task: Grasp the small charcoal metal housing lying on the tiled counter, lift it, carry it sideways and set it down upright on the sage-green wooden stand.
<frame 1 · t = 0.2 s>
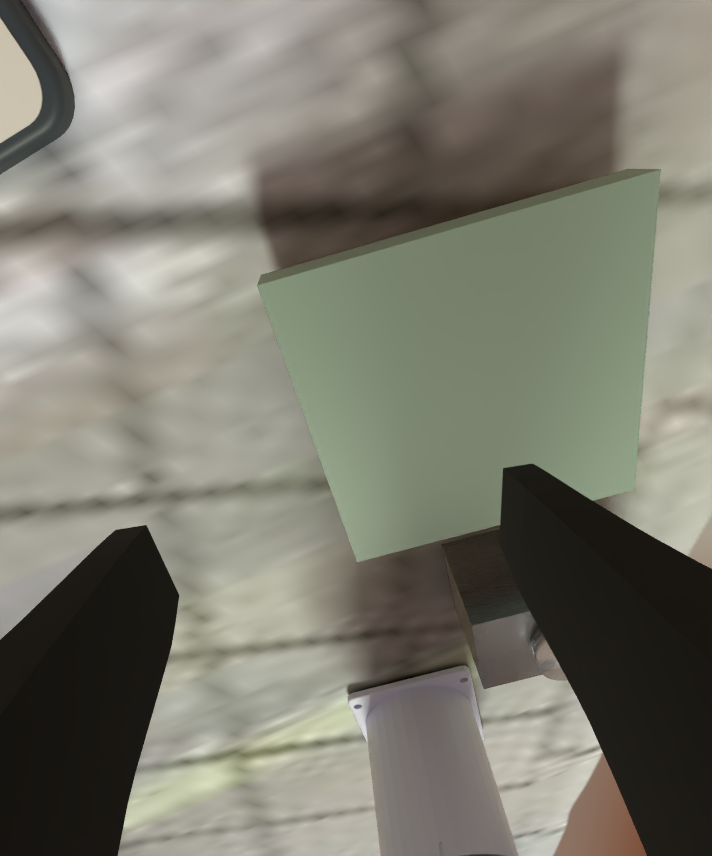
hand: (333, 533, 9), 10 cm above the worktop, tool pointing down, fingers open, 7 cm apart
stand: (454, 372, 19), on the worktop
housing: (518, 556, 25), on the worktop
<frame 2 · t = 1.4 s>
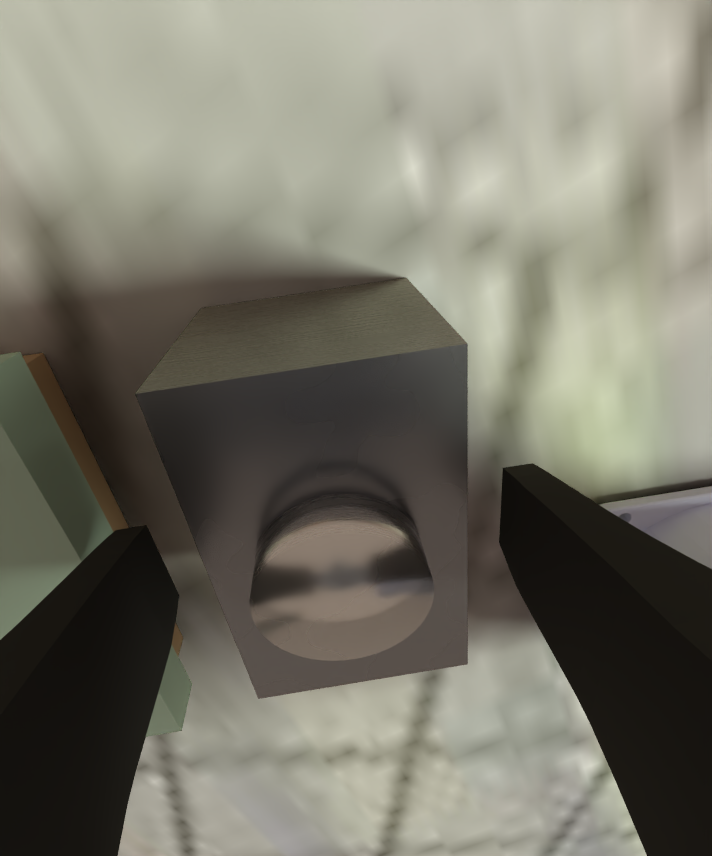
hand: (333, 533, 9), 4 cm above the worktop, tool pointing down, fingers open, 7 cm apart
housing: (329, 431, 13), on the worktop
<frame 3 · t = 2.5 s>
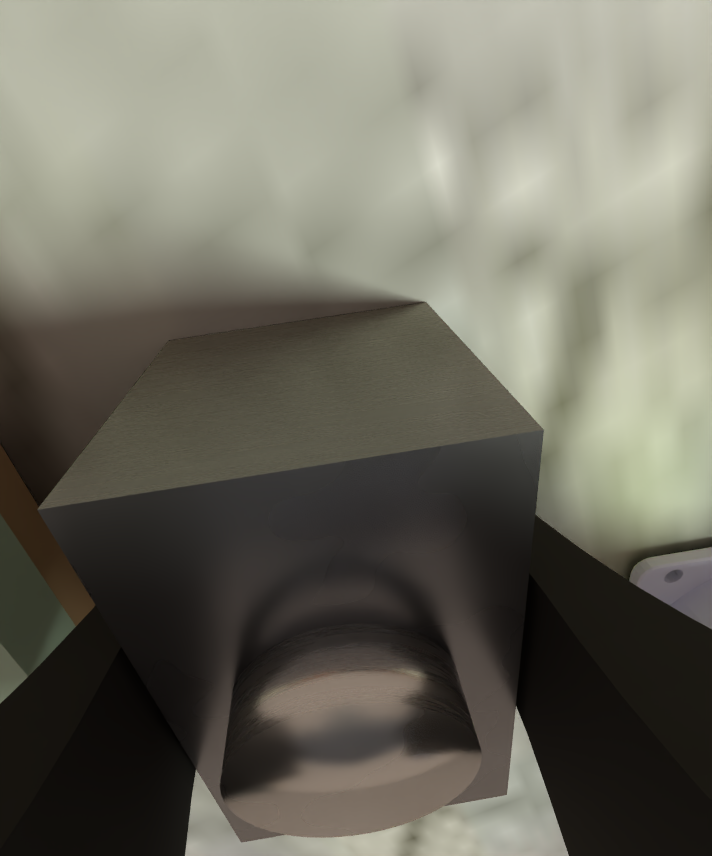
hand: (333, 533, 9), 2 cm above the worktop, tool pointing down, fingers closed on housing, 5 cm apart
housing: (329, 485, 11), on the worktop, touching gripper
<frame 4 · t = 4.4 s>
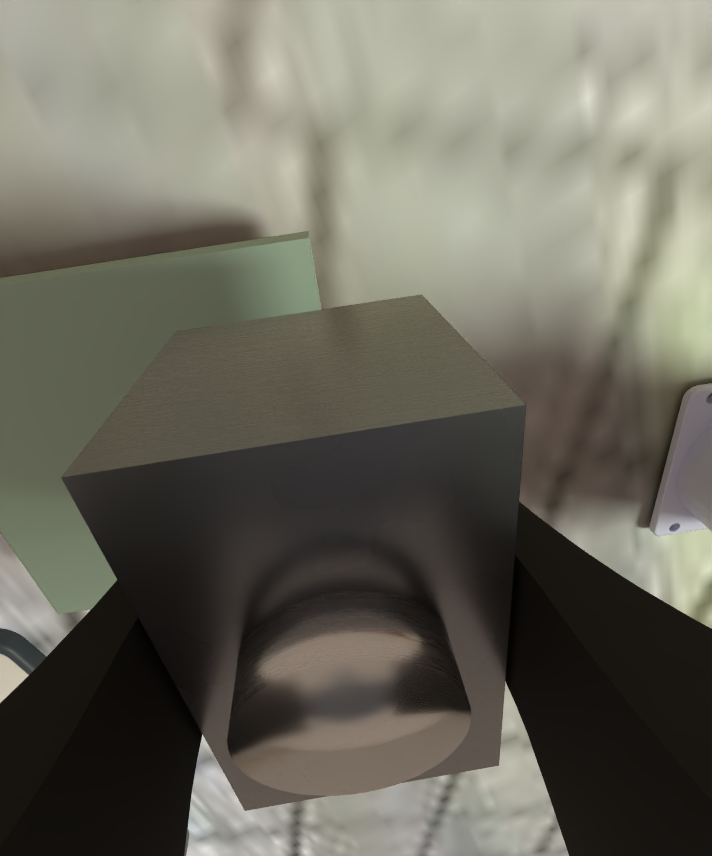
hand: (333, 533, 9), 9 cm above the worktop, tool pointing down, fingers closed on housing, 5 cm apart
stand: (180, 419, 17), on the worktop
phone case: (41, 716, 27), on the worktop
housing: (329, 473, 11), point 7 cm above the worktop, touching gripper
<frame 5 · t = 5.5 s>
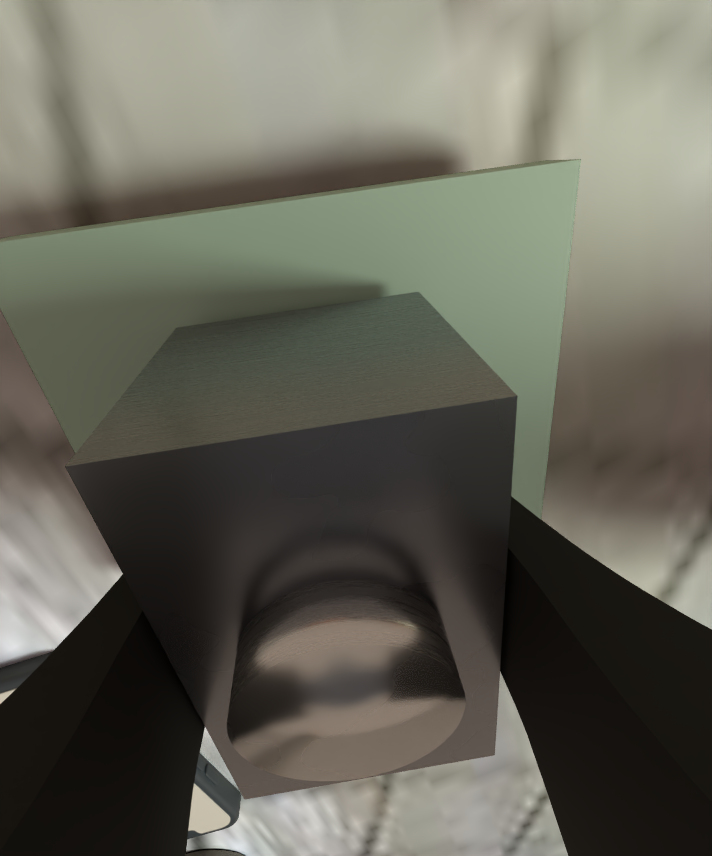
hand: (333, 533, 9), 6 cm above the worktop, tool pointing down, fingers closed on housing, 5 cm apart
stand: (322, 405, 14), on the worktop
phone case: (106, 743, 24), on the worktop
housing: (327, 468, 11), point 4 cm above the worktop, touching gripper
when the fingers open (6 cm above the worktop, at t = 6.2 s): housing stays where it is, resting on stand.
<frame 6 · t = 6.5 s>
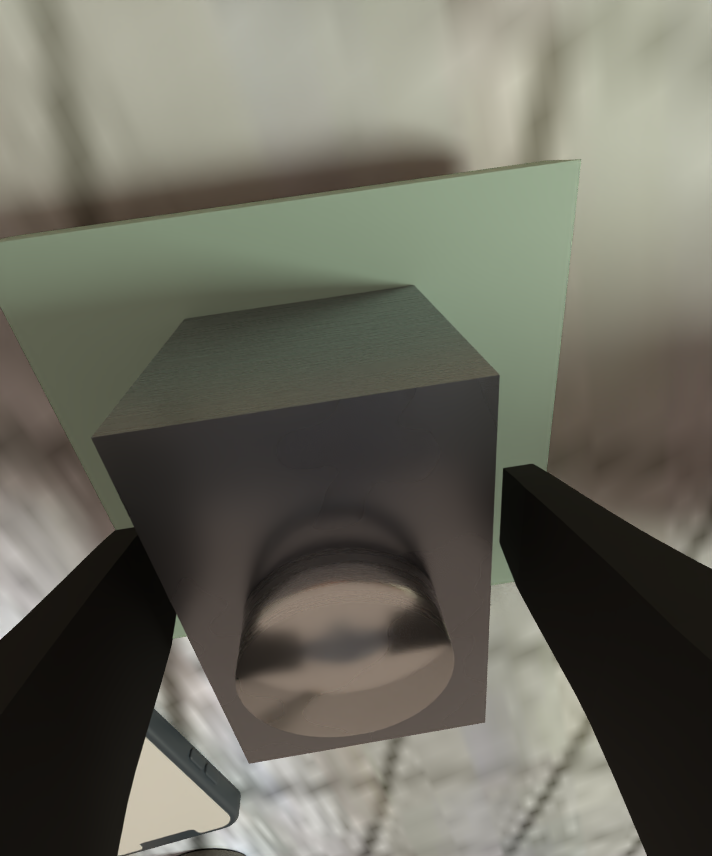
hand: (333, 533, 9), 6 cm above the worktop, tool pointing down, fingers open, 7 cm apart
stand: (323, 404, 14), on the worktop
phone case: (106, 743, 24), on the worktop
housing: (327, 454, 12), point 3 cm above the worktop, touching stand
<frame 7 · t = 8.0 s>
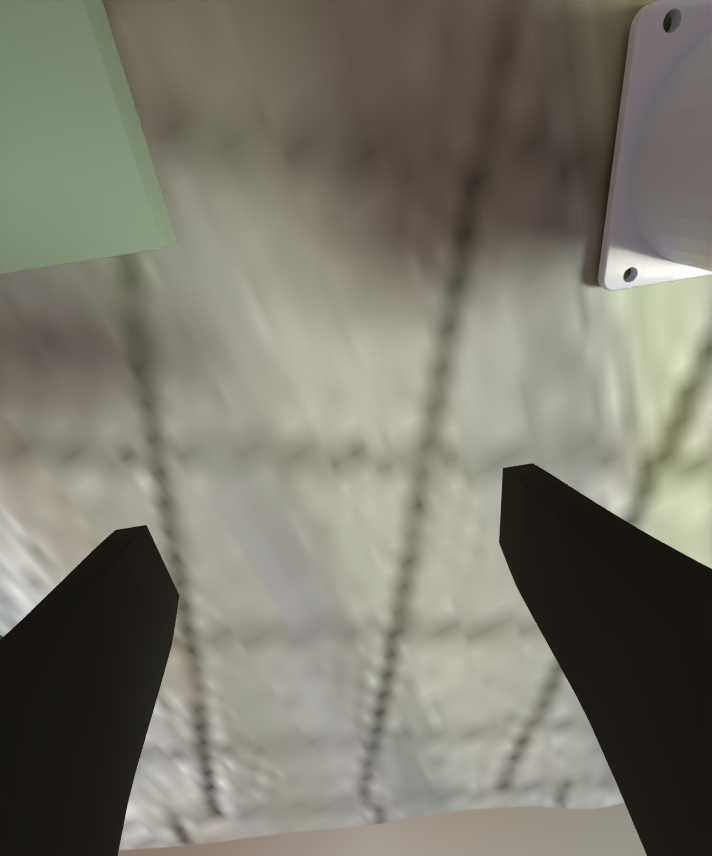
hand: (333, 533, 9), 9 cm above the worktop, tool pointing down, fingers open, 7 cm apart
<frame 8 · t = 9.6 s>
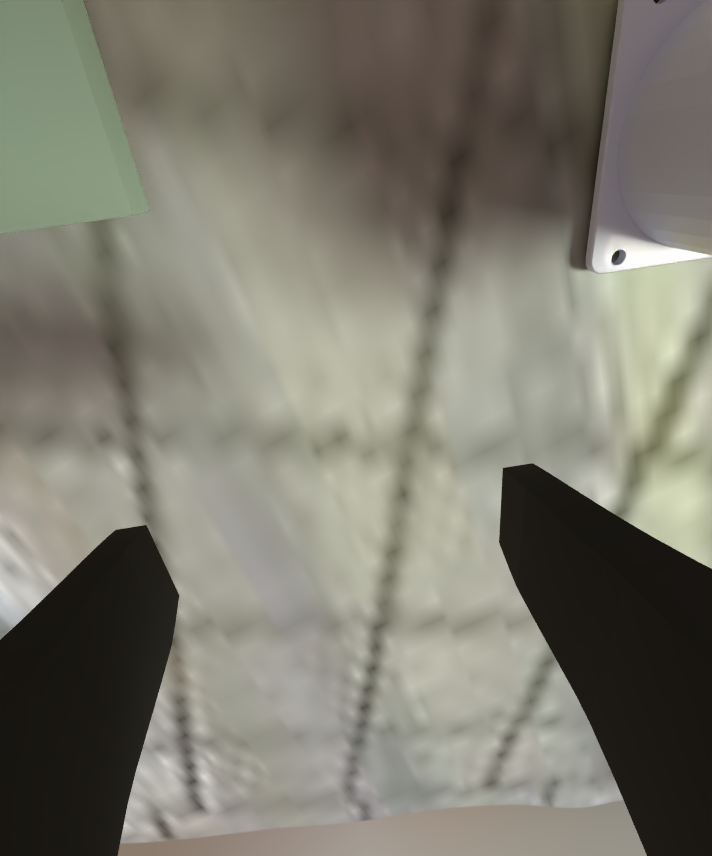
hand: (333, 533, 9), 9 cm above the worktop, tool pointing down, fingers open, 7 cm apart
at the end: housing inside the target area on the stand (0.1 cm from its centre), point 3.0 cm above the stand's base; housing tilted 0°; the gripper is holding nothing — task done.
